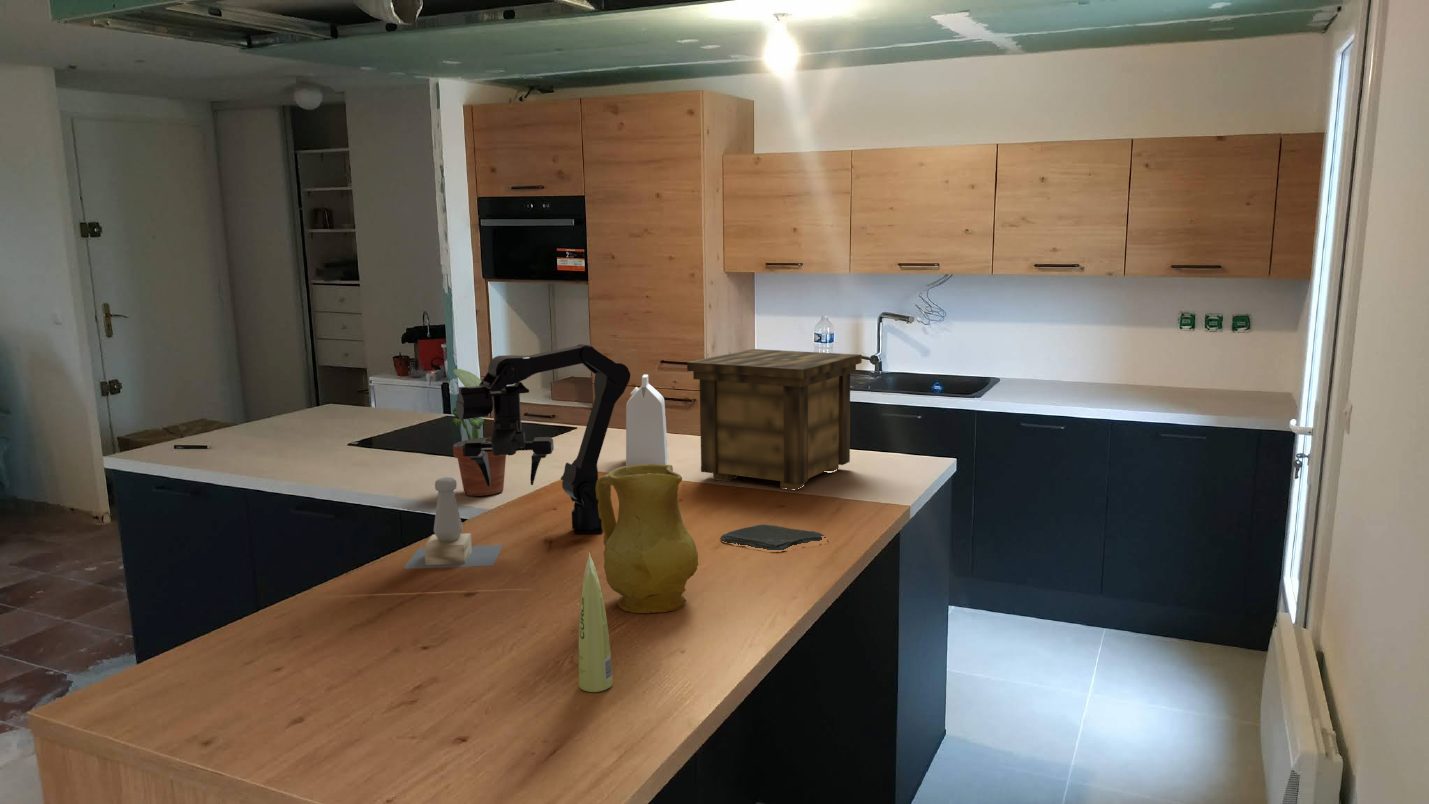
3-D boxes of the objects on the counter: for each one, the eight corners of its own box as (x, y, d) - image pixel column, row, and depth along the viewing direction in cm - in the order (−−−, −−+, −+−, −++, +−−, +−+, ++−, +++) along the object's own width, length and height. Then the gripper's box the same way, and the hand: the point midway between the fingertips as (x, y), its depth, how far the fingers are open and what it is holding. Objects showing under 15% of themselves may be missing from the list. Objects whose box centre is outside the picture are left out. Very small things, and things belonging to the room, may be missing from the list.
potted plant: (441, 498, 259) (432, 364, 253) (476, 484, 273) (468, 357, 267) (491, 503, 253) (484, 366, 247) (524, 488, 267) (518, 358, 261)
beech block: (471, 551, 213) (470, 533, 212) (464, 563, 205) (463, 544, 204) (433, 552, 212) (432, 534, 212) (425, 564, 204) (424, 546, 204)
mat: (503, 546, 217) (503, 544, 217) (493, 567, 203) (492, 565, 203) (419, 549, 216) (419, 547, 216) (403, 570, 202) (403, 568, 202)
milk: (665, 467, 290) (663, 378, 285) (626, 467, 290) (623, 379, 286) (668, 458, 302) (666, 372, 297) (630, 458, 302) (627, 373, 297)
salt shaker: (444, 545, 204) (440, 483, 202) (429, 540, 208) (425, 479, 206) (468, 538, 208) (465, 478, 206) (453, 533, 212) (449, 474, 210)
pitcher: (626, 624, 171) (623, 480, 168) (588, 596, 187) (585, 464, 185) (715, 609, 178) (713, 471, 176) (671, 583, 195) (669, 456, 192)
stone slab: (718, 555, 210) (718, 546, 209) (721, 532, 226) (721, 523, 226) (832, 555, 209) (832, 546, 208) (826, 531, 225) (826, 523, 225)
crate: (689, 480, 273) (687, 362, 268) (754, 456, 302) (753, 348, 297) (803, 496, 254) (803, 369, 249) (860, 469, 283) (861, 354, 278)
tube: (569, 686, 148) (563, 559, 145) (594, 674, 152) (589, 551, 149) (595, 696, 145) (590, 567, 142) (620, 684, 149) (616, 558, 145)
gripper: (455, 422, 206) (460, 496, 209) (547, 420, 207) (550, 493, 210) (465, 413, 217) (469, 483, 220) (552, 411, 218) (555, 480, 221)
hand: (510, 485), depth 217 cm, fingers open, 9 cm apart
